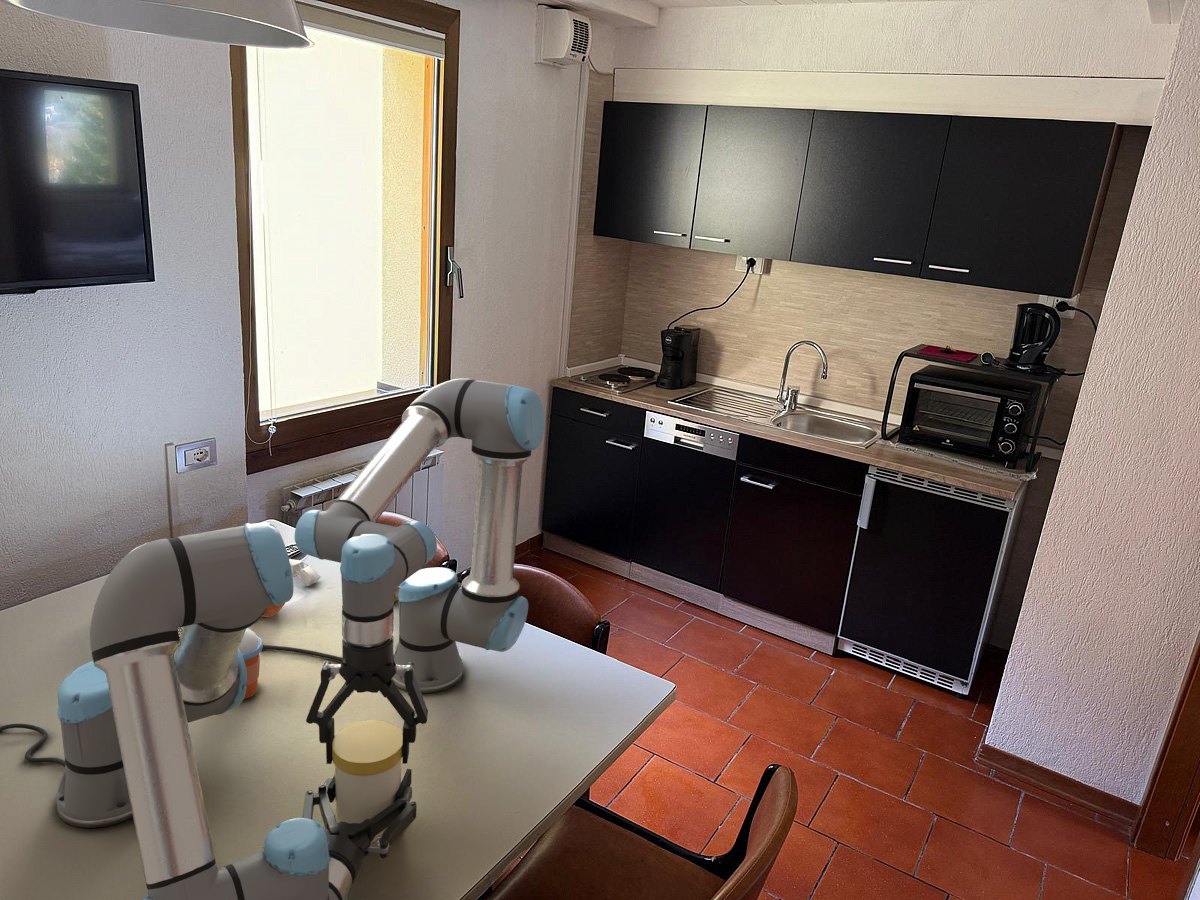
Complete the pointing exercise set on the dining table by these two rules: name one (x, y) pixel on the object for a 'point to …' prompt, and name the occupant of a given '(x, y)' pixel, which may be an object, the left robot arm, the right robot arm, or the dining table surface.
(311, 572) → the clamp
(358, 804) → the jar
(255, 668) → the cup with straw
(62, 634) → the dining table surface
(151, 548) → the left robot arm
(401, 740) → the lid
